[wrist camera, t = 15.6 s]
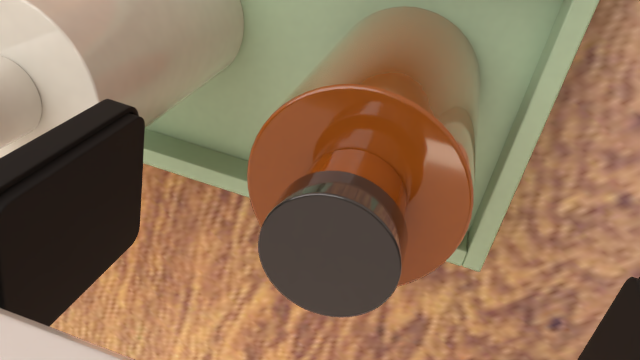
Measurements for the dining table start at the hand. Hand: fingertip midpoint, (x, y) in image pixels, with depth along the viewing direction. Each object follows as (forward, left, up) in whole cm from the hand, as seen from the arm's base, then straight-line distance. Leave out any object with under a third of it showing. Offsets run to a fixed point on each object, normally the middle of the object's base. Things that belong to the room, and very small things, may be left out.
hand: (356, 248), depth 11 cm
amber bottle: (0, 0, -11) cm, 11 cm away
